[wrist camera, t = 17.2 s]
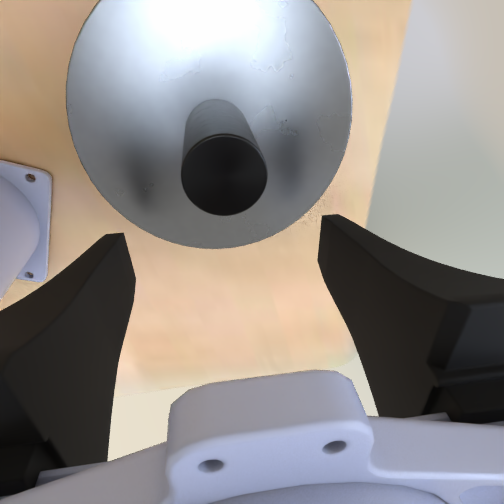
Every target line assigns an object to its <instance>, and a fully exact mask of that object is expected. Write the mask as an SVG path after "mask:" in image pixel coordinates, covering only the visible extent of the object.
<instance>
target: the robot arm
mask: <svg viewBox="0 0 504 504" xmlns="http://www.w3.org/2000/svg"><path fill="white" fill-rule="evenodd" d="M28 174H32V175H34V177H35V179H36V180H32V179H30V178H29V177H28ZM51 194H52V177H51V176H50V174H49V173H48V172H46V171H44V170H41V169H36V168H32V167H28V166H24V165H20V164H16V163H12V162H8V161H4V160H0V300H1V299H2V298H3V296H4V295H5V293H6V292H7V290H8V289H9V287H10V286H11V284H12V283H13V282H14V280H15V279H22V280H28V281H34V282H43V281H44V280H45V279H46V278H47V275H48V256H49V235H50V215H51ZM318 264H319V267H320V270H321V273H322V276H323V279H324V282H325V284H326V286H327V288H328V290H329V292H330V294H331V296H332V298H333V300H334V302H335V304H336V306H337V307H338V309H339V311H340V313H341V315H342V317H343V319H344V321H345V323H346V325H347V327H348V329H349V331H350V334H351V336H352V338H353V341H354V344H355V346H356V349H357V352H358V354H359V357H360V360H361V363H362V365H363V368H364V371H365V374H366V377H367V380H368V383H369V386H370V389H371V392H372V395H373V398H374V401H375V405H376V408H377V411H378V414H379V417H378V416H367V415H366V413H365V410H364V408H363V406H362V403H361V401H360V399H359V397H358V394H357V392H356V389H355V387H354V385H353V382H352V380H350V379H349V378H347V377H345V376H344V375H342V374H340V373H339V372H336V371H330V370H307V371H299V372H292V373H284V374H276V375H268V376H261V377H253V378H245V379H237V380H230V381H222V382H214V383H209V384H206V385H202V386H199V387H196V388H192V389H189V390H188V391H186V392H185V393H184V394H183V395H182V396H180V397H179V398H178V399H177V400H176V401H174V402H173V403H172V404H171V408H170V413H169V418H168V432H167V441H166V442H163V443H160V444H158V445H154V446H152V447H149V448H146V449H143V450H141V451H137V452H135V453H132V454H129V455H126V456H123V457H121V458H117V459H115V460H112V461H108V462H107V458H108V446H109V435H110V424H111V414H112V406H113V398H114V389H115V382H116V375H117V368H118V362H119V357H120V353H121V349H122V345H123V341H124V337H125V334H126V330H127V326H128V322H129V318H130V314H131V310H132V306H133V302H134V294H135V283H136V277H135V273H134V269H133V266H132V262H131V258H130V254H129V251H128V247H127V243H126V240H125V236H124V233H114V234H106V235H104V236H103V237H102V238H100V239H99V240H98V241H97V242H96V243H94V244H93V245H92V246H91V247H90V248H89V249H88V250H87V251H85V252H84V253H83V254H82V255H81V256H80V257H78V258H77V259H76V260H75V261H74V262H73V263H71V264H70V265H69V266H68V267H66V268H65V269H64V270H63V271H61V272H60V273H59V274H57V275H56V276H55V277H54V278H52V279H51V280H50V281H48V282H47V283H46V284H44V285H43V286H41V287H40V288H38V289H37V290H35V291H34V292H32V293H31V294H29V295H27V296H26V297H24V298H23V299H21V300H19V301H18V302H16V303H14V304H12V305H10V306H9V307H7V308H5V309H3V310H1V311H0V504H504V279H500V278H495V277H490V276H486V275H481V274H477V273H473V272H468V271H465V270H461V269H457V268H454V267H451V266H448V265H444V264H441V263H438V262H435V261H432V260H429V259H427V258H424V257H422V256H419V255H417V254H414V253H412V252H409V251H407V250H405V249H402V248H400V247H398V246H396V245H394V244H392V243H390V242H388V241H386V240H384V239H382V238H380V237H378V236H377V235H375V234H373V233H371V232H370V231H368V230H366V229H364V228H363V227H361V226H359V225H357V224H356V223H354V222H352V221H350V220H349V219H347V218H345V217H343V216H341V215H339V214H335V215H323V216H322V221H321V231H320V241H319V251H318ZM27 272H30V273H32V274H33V275H30V274H28V273H27Z"/></svg>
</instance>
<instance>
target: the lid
mask: <svg viewBox="0 0 504 504" xmlns="http://www.w3.org/2000/svg"><path fill="white" fill-rule="evenodd" d="M66 109H67V116H68V123H69V129H70V132H71V136H72V140H73V143H74V147H75V149H76V151H77V154H78V156H79V159H80V161H81V163H82V165H83V167H84V169H85V171H86V172H87V174H88V176H89V178H90V179H91V181H92V182H93V184H94V185H95V186H96V188H97V189H98V191H99V192H100V193H101V195H102V196H103V197H104V198H105V199H106V200H107V201H108V202H109V203H110V204H111V205H112V207H113V208H114V209H116V210H117V211H118V212H119V213H120V214H121V215H123V216H124V217H125V218H126V219H127V220H129V221H130V222H132V223H133V224H135V225H136V226H138V227H139V228H141V229H143V230H144V231H146V232H148V233H150V234H152V235H154V236H156V237H159V238H161V239H164V240H166V241H169V242H172V243H176V244H180V245H183V246H189V247H195V248H205V249H222V248H233V247H238V246H244V245H248V244H251V243H255V242H258V241H261V240H263V239H266V238H268V237H270V236H273V235H275V234H276V233H278V232H280V231H282V230H284V229H285V228H287V227H288V226H290V225H291V224H293V223H294V222H295V221H297V220H298V219H299V218H301V217H302V216H303V215H304V214H305V213H306V212H307V211H308V210H310V209H311V207H312V206H313V205H314V204H315V203H316V202H317V201H318V200H319V199H320V197H321V196H322V195H323V193H324V192H325V190H326V189H327V188H328V186H329V185H330V183H331V181H332V179H333V178H334V176H335V174H336V172H337V170H338V168H339V166H340V163H341V161H342V158H343V156H344V153H345V150H346V146H347V143H348V139H349V134H350V128H351V121H352V89H351V80H350V75H349V70H348V66H347V61H346V59H345V56H344V53H343V50H342V47H341V44H340V42H339V40H338V38H337V36H336V34H335V32H334V30H333V28H332V26H331V24H330V23H329V21H328V20H327V18H326V17H325V15H324V14H323V13H322V11H321V10H320V8H319V7H318V6H317V4H316V3H315V2H314V1H313V0H99V1H98V2H97V3H96V5H95V6H94V8H93V9H92V11H91V12H90V14H89V16H88V17H87V19H86V20H85V22H84V23H83V26H82V28H81V30H80V32H79V34H78V37H77V39H76V41H75V44H74V47H73V51H72V54H71V58H70V61H69V66H68V73H67V81H66Z"/></svg>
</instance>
